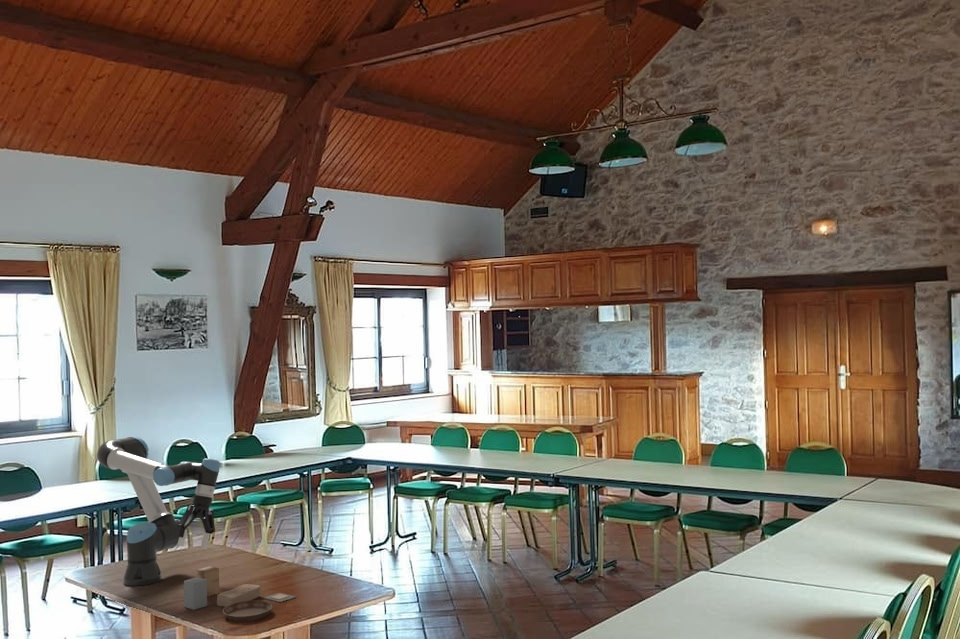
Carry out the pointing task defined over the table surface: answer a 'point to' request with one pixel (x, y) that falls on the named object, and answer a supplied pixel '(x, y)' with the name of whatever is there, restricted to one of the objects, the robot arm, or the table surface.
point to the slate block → (195, 593)
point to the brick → (239, 595)
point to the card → (279, 597)
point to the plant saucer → (247, 610)
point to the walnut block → (210, 579)
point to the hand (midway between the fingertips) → (192, 547)
